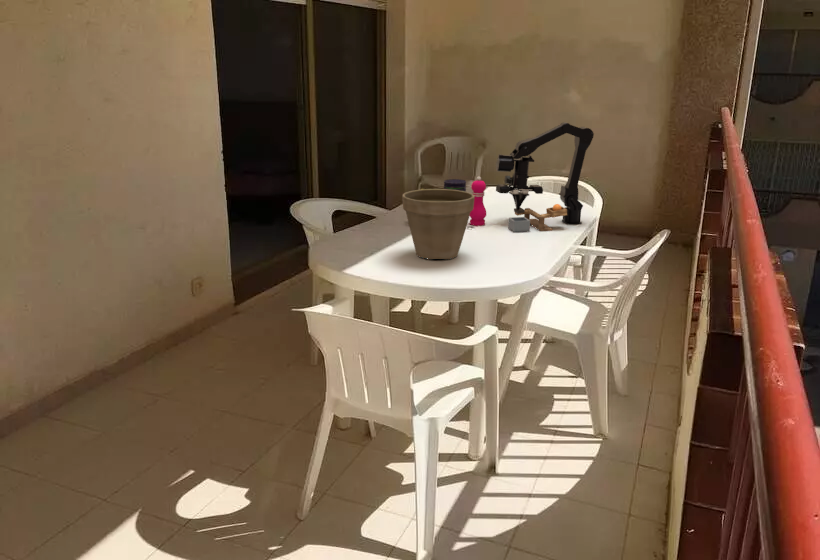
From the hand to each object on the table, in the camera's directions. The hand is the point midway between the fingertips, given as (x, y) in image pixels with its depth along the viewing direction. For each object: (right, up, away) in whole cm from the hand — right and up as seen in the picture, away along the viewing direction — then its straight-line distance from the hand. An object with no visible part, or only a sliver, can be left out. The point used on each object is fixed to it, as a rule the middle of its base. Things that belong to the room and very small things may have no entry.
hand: (517, 209), depth 277 cm
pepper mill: (-17, -6, +1) cm, 18 cm away
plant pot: (-35, -21, -42) cm, 59 cm away
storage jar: (-25, -1, +17) cm, 31 cm away
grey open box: (-1, -9, -9) cm, 13 cm away
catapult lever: (+9, -2, -4) cm, 10 cm away
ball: (+15, -1, -9) cm, 17 cm away
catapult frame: (+8, -7, -2) cm, 11 cm away
